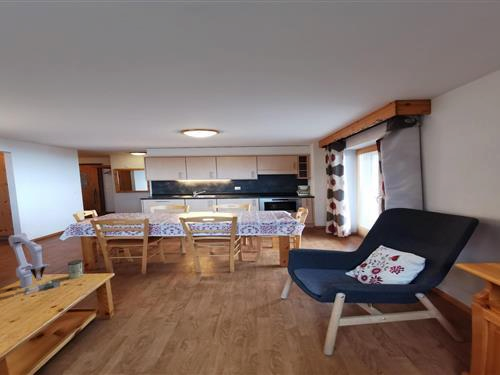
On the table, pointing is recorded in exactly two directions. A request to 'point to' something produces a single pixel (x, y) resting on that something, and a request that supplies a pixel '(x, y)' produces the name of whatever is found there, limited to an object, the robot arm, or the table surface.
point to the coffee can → (75, 269)
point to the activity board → (39, 288)
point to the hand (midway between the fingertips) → (38, 277)
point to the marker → (38, 275)
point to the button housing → (49, 286)
